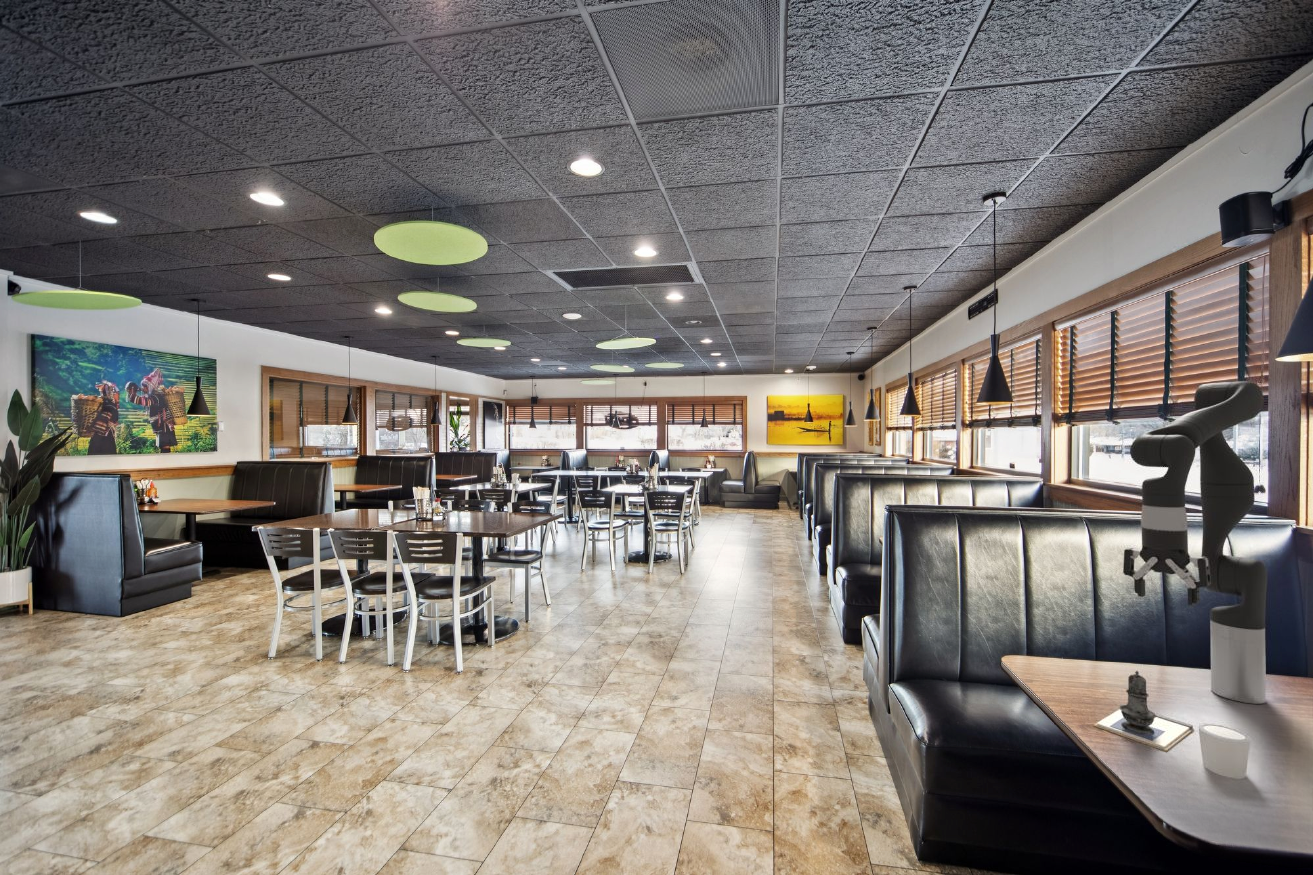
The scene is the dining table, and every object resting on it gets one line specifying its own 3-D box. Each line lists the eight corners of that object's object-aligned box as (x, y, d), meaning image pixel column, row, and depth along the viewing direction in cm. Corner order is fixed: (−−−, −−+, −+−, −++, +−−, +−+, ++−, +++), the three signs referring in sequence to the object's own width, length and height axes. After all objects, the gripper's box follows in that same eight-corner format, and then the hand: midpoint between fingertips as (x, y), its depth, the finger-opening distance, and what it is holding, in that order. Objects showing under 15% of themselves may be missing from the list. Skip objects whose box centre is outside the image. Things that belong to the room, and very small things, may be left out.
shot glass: (1242, 784, 101) (1241, 744, 101) (1191, 765, 107) (1191, 727, 107) (1257, 774, 104) (1257, 735, 104) (1207, 756, 110) (1207, 719, 110)
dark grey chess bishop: (1163, 736, 116) (1162, 677, 116) (1130, 734, 117) (1129, 675, 117) (1144, 723, 121) (1144, 666, 122) (1113, 720, 123) (1112, 664, 123)
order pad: (1124, 707, 130) (1124, 703, 130) (1194, 730, 120) (1194, 725, 120) (1093, 726, 122) (1093, 721, 122) (1166, 751, 112) (1166, 746, 112)
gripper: (1213, 528, 121) (1215, 604, 121) (1130, 520, 133) (1132, 590, 133) (1202, 532, 117) (1204, 611, 117) (1117, 524, 129) (1119, 596, 129)
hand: (1165, 600), depth 125 cm, fingers open, 8 cm apart
